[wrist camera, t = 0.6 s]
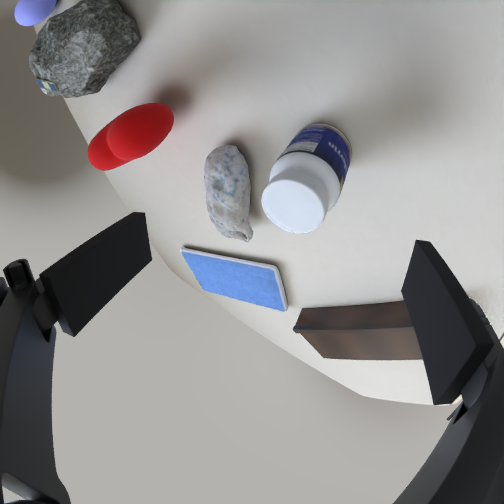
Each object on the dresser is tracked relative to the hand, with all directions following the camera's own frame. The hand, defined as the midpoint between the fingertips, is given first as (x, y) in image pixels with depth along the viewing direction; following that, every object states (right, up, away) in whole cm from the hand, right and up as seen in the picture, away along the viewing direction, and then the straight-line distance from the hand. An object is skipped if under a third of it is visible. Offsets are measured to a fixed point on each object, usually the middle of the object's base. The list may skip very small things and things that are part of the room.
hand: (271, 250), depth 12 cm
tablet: (-4, -4, +37) cm, 38 cm away
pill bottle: (+6, +10, +12) cm, 17 cm away
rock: (-20, +27, +11) cm, 36 cm away
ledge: (+21, -12, +29) cm, 37 cm away
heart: (-11, +17, +17) cm, 26 cm away
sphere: (-30, +38, +5) cm, 49 cm away
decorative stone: (-3, +8, +21) cm, 23 cm away
